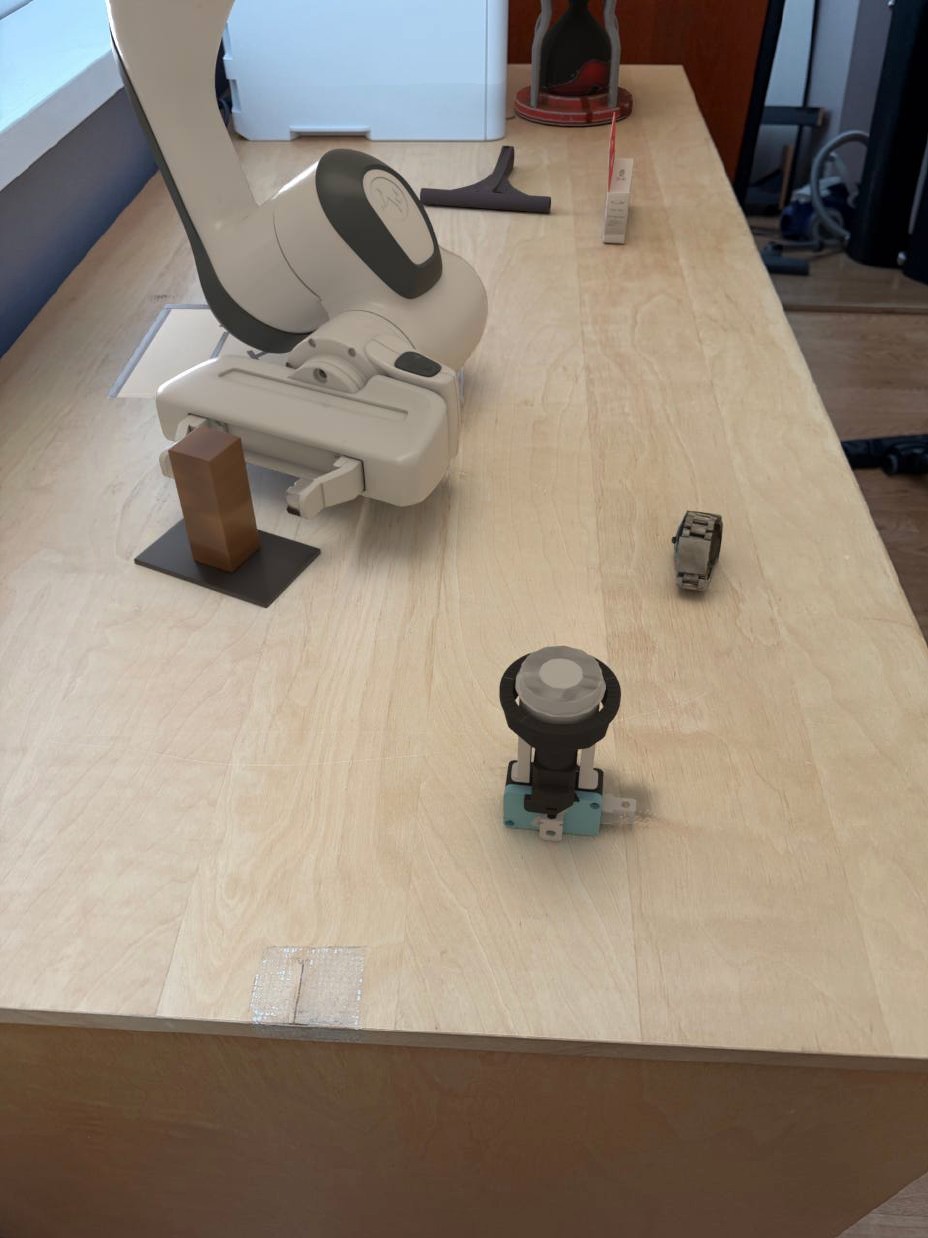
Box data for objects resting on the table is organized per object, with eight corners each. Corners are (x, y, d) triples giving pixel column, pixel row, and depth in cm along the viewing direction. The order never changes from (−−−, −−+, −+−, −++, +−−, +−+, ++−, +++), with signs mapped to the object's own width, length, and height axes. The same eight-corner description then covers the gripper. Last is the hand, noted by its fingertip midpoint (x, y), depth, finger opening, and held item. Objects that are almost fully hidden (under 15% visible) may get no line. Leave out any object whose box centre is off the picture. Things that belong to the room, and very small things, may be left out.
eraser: (140, 583, 66) (101, 448, 59) (198, 532, 70) (168, 400, 63) (270, 629, 62) (244, 490, 56) (324, 573, 66) (306, 437, 60)
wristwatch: (713, 595, 66) (725, 518, 66) (703, 589, 61) (716, 505, 62) (666, 589, 67) (677, 513, 67) (652, 582, 63) (665, 500, 63)
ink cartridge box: (629, 206, 114) (638, 110, 108) (625, 245, 106) (634, 144, 100) (607, 205, 115) (614, 110, 108) (601, 244, 106) (608, 143, 100)
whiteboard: (87, 440, 79) (83, 428, 78) (167, 313, 96) (165, 303, 95) (347, 446, 78) (346, 434, 77) (383, 317, 94) (383, 306, 94)
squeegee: (568, 169, 124) (569, 145, 122) (548, 214, 113) (549, 188, 111) (450, 163, 126) (450, 139, 124) (420, 207, 115) (418, 181, 113)
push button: (634, 784, 53) (654, 640, 46) (631, 871, 49) (653, 727, 42) (504, 771, 54) (506, 627, 47) (492, 856, 50) (492, 711, 43)
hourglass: (572, 135, 134) (584, -100, 117) (489, 108, 143) (490, -113, 126) (657, 110, 141) (679, -114, 125) (573, 86, 151) (584, -125, 134)
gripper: (221, 316, 74) (87, 405, 65) (478, 376, 67) (369, 484, 58) (235, 396, 78) (111, 489, 69) (479, 459, 71) (377, 573, 62)
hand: (231, 488), depth 63 cm, fingers open, 8 cm apart
